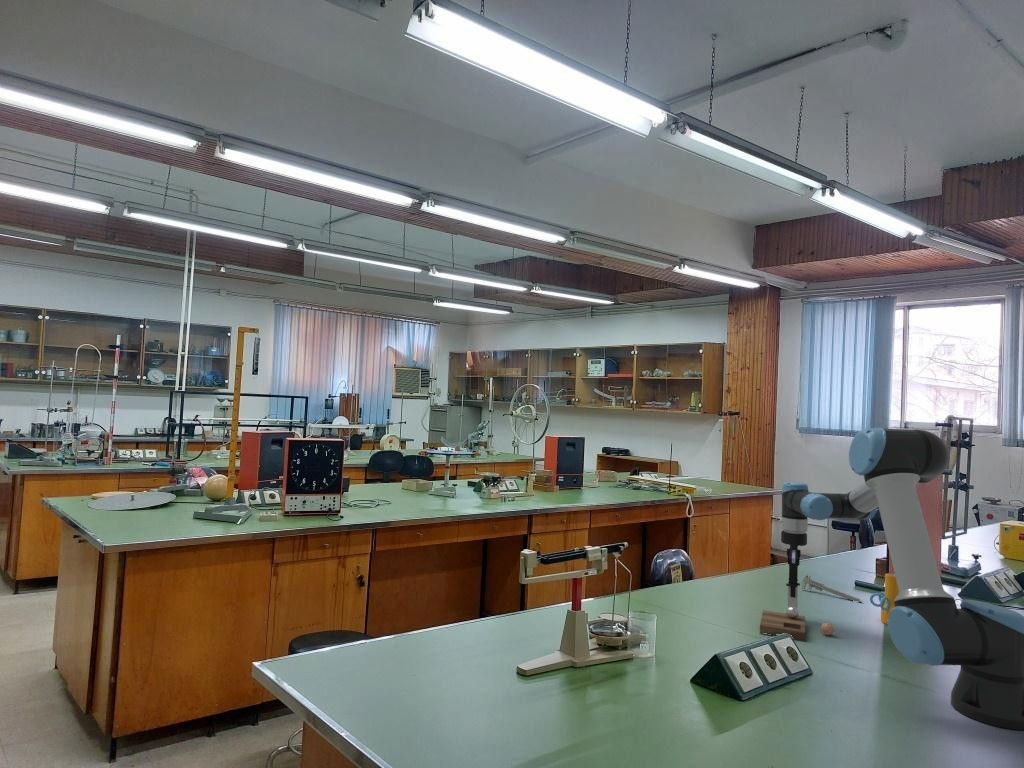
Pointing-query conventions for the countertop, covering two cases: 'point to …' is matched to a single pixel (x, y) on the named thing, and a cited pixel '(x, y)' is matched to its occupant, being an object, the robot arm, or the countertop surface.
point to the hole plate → (782, 624)
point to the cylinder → (887, 597)
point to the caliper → (825, 588)
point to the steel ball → (792, 612)
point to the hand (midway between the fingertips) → (792, 606)
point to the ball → (827, 629)
